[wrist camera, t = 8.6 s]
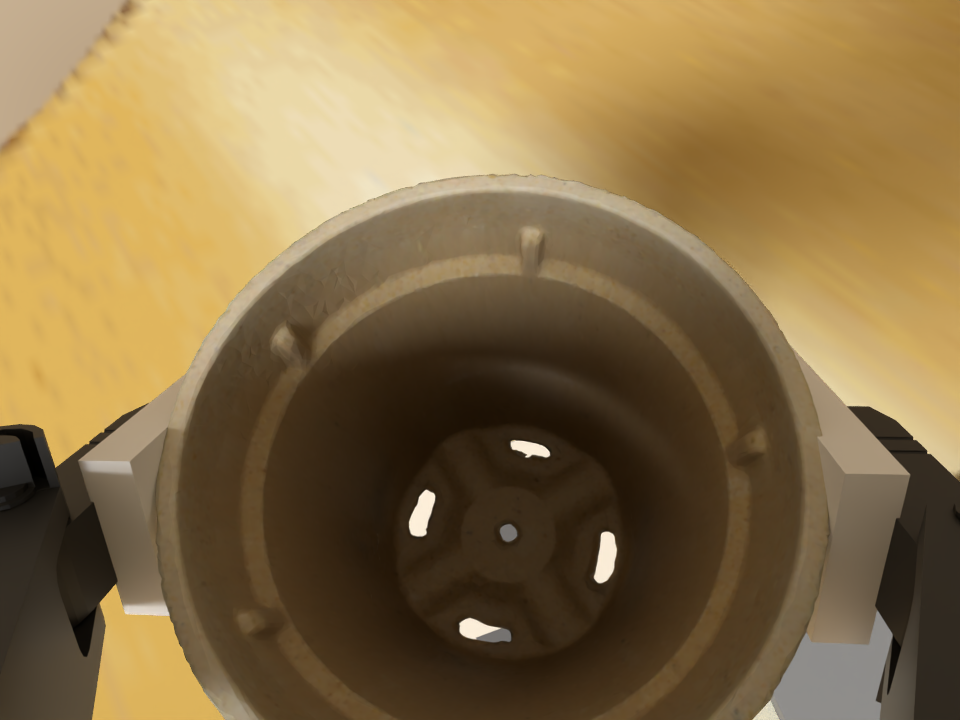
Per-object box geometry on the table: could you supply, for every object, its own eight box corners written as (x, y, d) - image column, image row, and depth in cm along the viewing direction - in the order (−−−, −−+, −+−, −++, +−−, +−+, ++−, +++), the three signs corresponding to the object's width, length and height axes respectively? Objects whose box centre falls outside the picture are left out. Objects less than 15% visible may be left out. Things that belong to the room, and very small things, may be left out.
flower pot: (318, 398, 19) (159, 228, 11) (640, 336, 19) (709, 121, 11) (346, 771, 16) (136, 913, 8) (745, 700, 15) (961, 767, 7)
